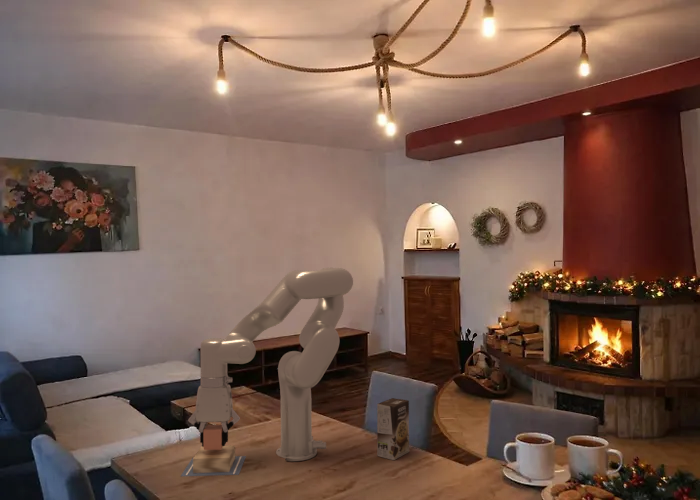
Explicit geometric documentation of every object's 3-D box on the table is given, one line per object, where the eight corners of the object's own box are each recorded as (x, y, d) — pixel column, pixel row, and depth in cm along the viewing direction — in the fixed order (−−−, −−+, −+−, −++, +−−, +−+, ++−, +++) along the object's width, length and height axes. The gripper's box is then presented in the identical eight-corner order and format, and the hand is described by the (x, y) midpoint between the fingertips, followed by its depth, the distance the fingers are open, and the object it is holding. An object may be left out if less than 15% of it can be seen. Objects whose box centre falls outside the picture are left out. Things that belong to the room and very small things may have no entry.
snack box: (394, 461, 162) (393, 406, 162) (376, 456, 166) (376, 403, 166) (410, 451, 170) (409, 400, 170) (392, 447, 173) (392, 396, 174)
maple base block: (235, 458, 163) (235, 445, 163) (229, 472, 153) (229, 457, 153) (201, 459, 162) (201, 446, 162) (193, 473, 152) (193, 458, 152)
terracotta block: (224, 443, 160) (224, 424, 160) (221, 449, 155) (221, 430, 155) (207, 443, 160) (207, 425, 160) (203, 449, 155) (203, 430, 155)
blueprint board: (246, 459, 165) (246, 455, 165) (238, 478, 151) (238, 474, 151) (192, 460, 164) (192, 457, 164) (180, 479, 150) (180, 475, 150)
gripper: (245, 378, 162) (245, 439, 162) (187, 379, 161) (187, 441, 161) (241, 384, 154) (241, 448, 154) (180, 385, 154) (181, 450, 153)
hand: (214, 444), depth 158 cm, fingers closed on terracotta block, 4 cm apart
